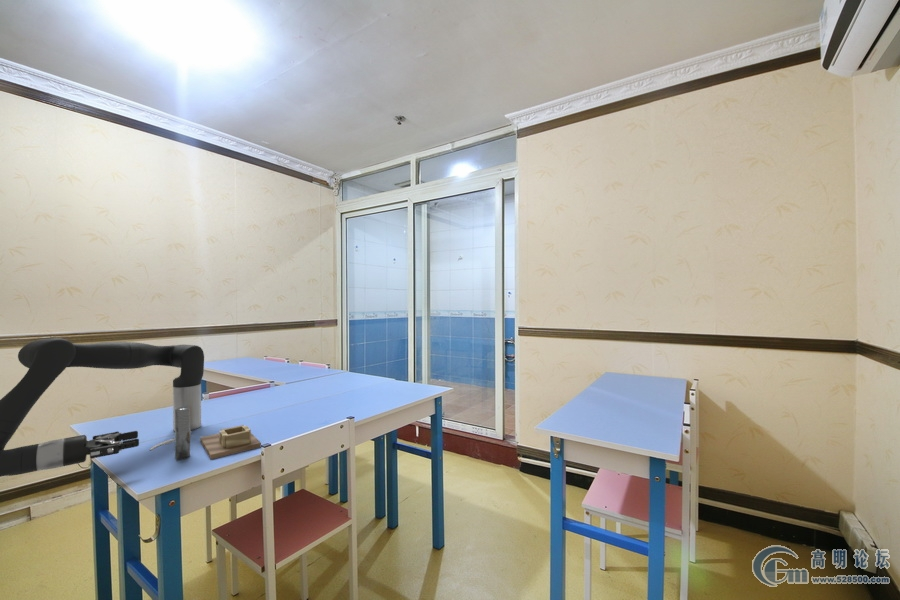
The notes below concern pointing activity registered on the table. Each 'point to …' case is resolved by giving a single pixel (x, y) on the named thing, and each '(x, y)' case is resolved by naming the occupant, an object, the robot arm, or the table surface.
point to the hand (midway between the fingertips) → (138, 438)
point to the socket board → (230, 441)
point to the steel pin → (182, 433)
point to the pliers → (164, 443)
